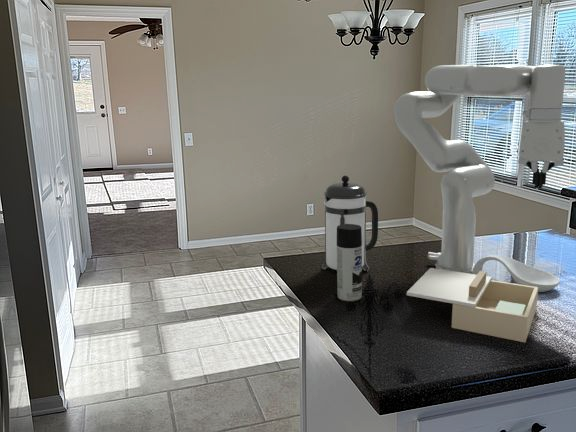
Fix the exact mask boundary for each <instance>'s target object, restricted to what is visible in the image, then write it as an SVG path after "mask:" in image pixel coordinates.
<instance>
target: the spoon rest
mask: <svg viewBox="0 0 576 432" xmlns="http://www.w3.org/2000/svg"><path fill="white" fill-rule="evenodd" d="M488 261H497V262H499V263H500V264H502V265H503V266H504V268H505V269H506V270H507V272H508V273H509V275H510V276H511V278H512V279H513V281H514V282H515V284H520V285H526V286H533V287H538V293H545V292H548V291H549V292H550V291H551V290H553V289H555V288H557V287H558V285H559V284H560V282H561V281H560V278H559V277H558V276H556V275H555V274H552V273H550V272H548V271H546V270H543V269H539V268H538V267H537V268H536V267H534V266H531V265H528V264H526V263H523V262H521V261H518V260H516V259H513V258H511V257H508V256H505V255H501V254H490V255H485V256H484V257H482V258H480V259H478V260H477V261H476V262H475V266H474V268H473V271H472V274H475V275H477V274H478V273H479V271H483V267H484V264H485V263H486V262H488Z"/></svg>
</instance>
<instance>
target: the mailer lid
mask: <svg viewBox="0 0 576 432" xmlns="http://www.w3.org/2000/svg"><path fill="white" fill-rule="evenodd" d="M492 278H493V277H492V276H489V275H487V271H483V270H482V271H479V273H478V274H477V275H475V274H469V273H462V272H455V271H449V270H442V269H436V267H435V268H434V267H429V268H428V269H427V271H426V272H425V273H424V274H423V275H421V277H419V279H418V280H417V281H416V282H415V283H414V284H413V285H412V286H411V287H410V288H409V289H408V290H407V291H406V296H409V297H415V298H421V299H425V300H430V301H437V302H442V303H449V304H452V305H453V304H458V305H464V306H470V307H475V306H476V305H477V303H478V301H479V300H480V298H481V296H482V295H483V293H484V291H485V290H486V288H487V286H488V285H489V283H490V282H491V280H492Z"/></svg>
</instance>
